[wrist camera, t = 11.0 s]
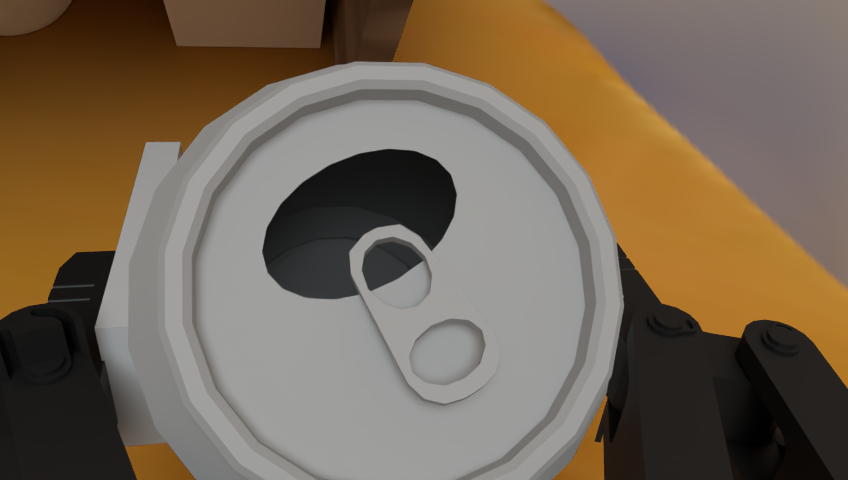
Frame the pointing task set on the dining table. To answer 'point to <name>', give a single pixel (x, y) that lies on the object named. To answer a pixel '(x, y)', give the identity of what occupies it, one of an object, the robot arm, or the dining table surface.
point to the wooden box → (367, 29)
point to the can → (375, 286)
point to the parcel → (247, 23)
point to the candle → (29, 15)
